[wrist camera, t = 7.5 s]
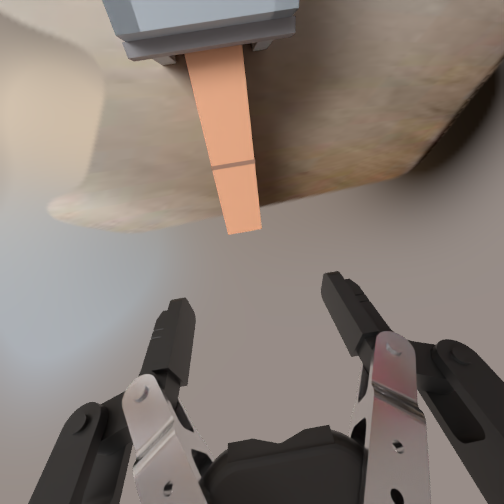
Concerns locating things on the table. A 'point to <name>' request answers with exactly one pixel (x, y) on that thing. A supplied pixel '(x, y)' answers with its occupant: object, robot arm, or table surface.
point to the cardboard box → (227, 132)
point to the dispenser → (197, 25)
